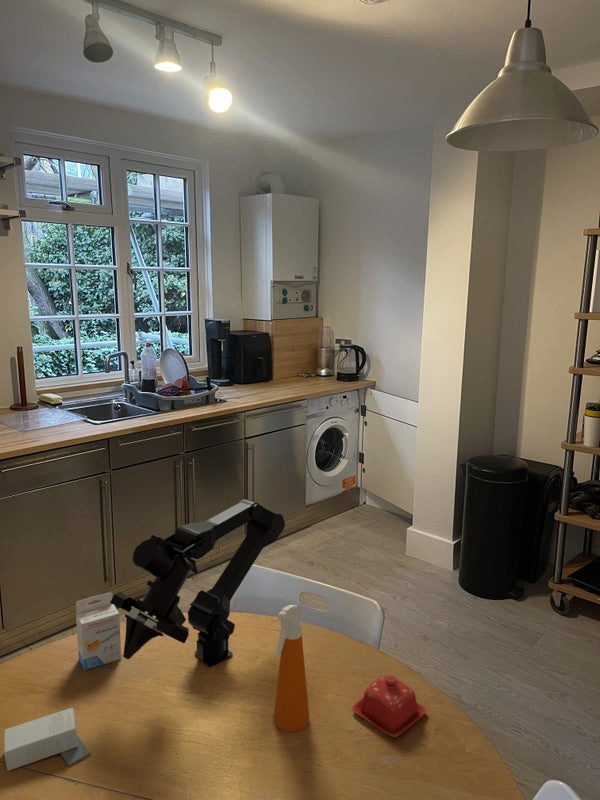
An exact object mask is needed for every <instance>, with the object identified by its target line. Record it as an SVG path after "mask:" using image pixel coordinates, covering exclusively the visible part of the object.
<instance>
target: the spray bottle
mask: <svg viewBox="0 0 600 800" xmlns="http://www.w3.org/2000/svg"><path fill="white" fill-rule="evenodd" d="M302 609H303V607H301V606H300V605H295V604H289V605H286V606H285V607H282V608H281V609H280V612H279V614H277V618H278V620H279V621H280V632H279V638H278V642H277V648H276V651H275V657H276V658H279V666H278V667H279V668H278V675H277V685H276V695H275V702H274V710H273V711H274V712H273V720H274V725H275V726H276V727H277V728H278V729H280V730H282V731H283V732H289V733H294V732H299V731H301V730H303V729H305V728H306V727H307V726H308V724H309V722H310V711H309V710H310V709H309V699H308V688H307V679H306V678H307V677H306V668H305V667H306V666H305V657H304V656H305V655H304V644H303V635H302V633H303V631H302V623H301V618H300V615H301V612H302Z"/></svg>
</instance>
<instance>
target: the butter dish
mask: <svg viewBox="0 0 600 800" xmlns="http://www.w3.org/2000/svg"><path fill="white" fill-rule="evenodd" d="M362 696H363V697H362V698H361V699H359V700H358V701H357V702H355V703H354V704H353V706H352V707H351V709H352V710H351V711H353V712H354V713H355V714H357V715H358V716H359V717H361V718H362V719H364V720H366V722H369V723H370V724H371V725H373V726H375V727H376V728H377V729H379V730H380V731H382V732H383V733H384V734H386V735H388V736H389V737H393V738H396V737H399V736H400V735H402V734H403V733H404V732H406V731H407V730H408V729H409V728H410V727H412V725H414V724H415V723H416V722H417V721H419V720H420V719H421V718H422V717H423V716H424V715H425V714H426V713H427V708H426V707H424V706H423V705H421V704H420V703H419V702H417V698H416V694H415V691H414V690H413V689H412V688H411V687H410V686H409V685H408V684H406V683H405V682H403V681H401V679H399V678H397V677H396V676H395V675H391V674H388V675H383V676H380V677H378V678H376V679H375V680H374V681H372V682H370V683H369V685H368V686H367V687H366V689H365V691H364V693H363V695H362Z"/></svg>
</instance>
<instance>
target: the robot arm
mask: <svg viewBox="0 0 600 800" xmlns="http://www.w3.org/2000/svg"><path fill="white" fill-rule="evenodd" d="M284 519H285V518H284V516H283V515H282V513H279V512H276V511H272V510H270V509H267V508H265V507H264V506H263V505H262V504H260V503H259V502H257V501H254V500H251V499H247V498H245V499H244V498H243V499H241V500H240V501H238V503H237V504H235V505H233V506H231V507H229V508H227V509H226V510H224V511H222V512H220V513H218V514H217V515H215V516H214V515H213V516H212V517H211V518H209V519H207V520H203V521H195V522H190V523H186V524H183V525H180V526H179V527H178V528H176V530H175V531H174V532H173V533H171V534H169V535H168V536H166V537H164V538H162V537H160V536H158V535H156V534H154V533H153V534H152V535H151V536H150V538H149V539H146V540H143V541H141V543H140V544H139V545H137V546H136V547H135V549H134V551H133V554H132V562H133V564H134V565H135V566H137V567H138V568H140V569H141V570H143V571H145V572H146V573H148V574H150V575H151V576H153V577H154V579H153V581H152V580H148V581H147V582H146V586H148V587H149V588H148V589H147V591H146V592H145V595H144V597H143V599H141V600H140V599H139V598H137V599H135V598H133V597H130V596H129V595H127V594H125V593H123V592H121V591H119V592H116V593H115V594H114V595H112V600H111V601H110V603H111V604H113V605H114V606H115V607H116V608H119V609H122V610H124V611H126V612H127V613H128V614H126V613H125V614H124V617H125V622H126V623H125V638H124V647H123V655H122V656H123V658H124V659H127V660H130V659H131V658H132V657H133V656H134V655H135V654H136V653H137V652H139V650H140V649H141V648H143V647H144V646H145V645H146V644H147V643H148V642H149V641H150V640H152V639H154V638H157V637H163V636H164V635H166V636H167V637H170V638H172V639H174V640H176V641H177V642H180V643H182V644H185V643H186V642H187V640H188V638H189V630H190V629H189V628H188V627H186V626H184V623H186V621H187V622H188V624H189V625H190V626H192V627H191V628H192V629H193V630H195V631H198V632H197V640H196V651H194V656H196V657H197V658H198V659H199V660H201V661H202V662H203V663H205V665H206V666H208V667H213V666H215V665H216V664H219V663H221V662H223V661H225V660H227V659H229V658H231V657H232V656H233V651H231V650H230V649H229V639H230V636H231V635H233V634H234V632H235V626H236V624H235V623H234V622H233V621H231V620H229V619H228V618H229V616H230V613H231V612H230V611H231V610H230V609H231V600H232V598H233V597H234V596H235V593H236V592H237V590H238V588H240V585H241V584H242V582H243V581H244V579H245V577H246V576H247V574H248V573H249V571H250V569H251V568H252V567H253V565H254V563H255V562H256V560H257V559H258V557H259V555H260V554H261V552H262V551H263V549H264V548H266V547H267V546H270V545H272V543H274V542H275V541H276V540H277V539H278V538H279V537H280V535H281V534H282V533H283V532H284V529H285V528H286V527H285V526H286V524H285V523H286V522H285V520H284ZM245 524H246V526H245V527H246V528H245V529H246V530H245V537H244V539H243V540H242V542H241V543H240V545H239V546H238V548H237V550H236V551H235V552H234V554H233V556H232V557H231V559H230V560H229V561H228V563H227V565H226V566H225V568H224V569H223V571H222V573H221V574H220V576H219V577H218V579H217V581H216V582H215V584H214V585H213V586H212V588H210V589H208V590H207V591H205V590H203V589H200V590H199V591H198V593H197V595H196V596H195V598H194V599H193V601H192V602H191V603H189V605H190V607H189V609H188V610H187V619H186V616H185V615H184V613H183V612H182V610H181V608H180V607H179V606H178V605H179V603H180V600H181V597H180V596H179V595H178V594H179V592H180V591H181V589H182V587H183V585H184V583H185V582H186V580H187V577H188V576H189V574H190V573H192V574H196V575H197V574H198V572H199V571H198V567H197V560H201V559H202V558H204V557H205V556H206V555H208V554H209V552H211V551H212V550H213V549H214V547H215V545H216V542H218V540H220V539H222V538H223V537H225V536H226V535H228V534H230V533H232V532H234V531H235V530H237V529H239V528H240V527H242V526H244V525H245ZM146 612H147V613H146Z"/></svg>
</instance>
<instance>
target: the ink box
mask: <svg viewBox="0 0 600 800" xmlns="http://www.w3.org/2000/svg"><path fill="white" fill-rule="evenodd" d="M112 598H113V592H111V591H110V592H105V593H102V594H98V595H94V596H90V597H87V598H83V599H80V600H77V601H76V602H75V609H76V610H75V611H76V614H75V621H76V622H75V623H76V634H77V635H76V637H77V649H78V650H77V651H78V661H79V663H80V665H81V667H82V668H83V671H87V670H91V669H94V668H96V667H100V666H102V665H106V664H109V663H113V662H115V661H119V660H122V644H121V641H122V640H121V625H120V624H121V623H120V621H121V620H120V612H119V610H118V609H117V607H116V606H115V605H113V604H111V603H110V601H111V600H112ZM94 601H99V602H94ZM91 602H94V603H91ZM89 603H91V604H89Z"/></svg>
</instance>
